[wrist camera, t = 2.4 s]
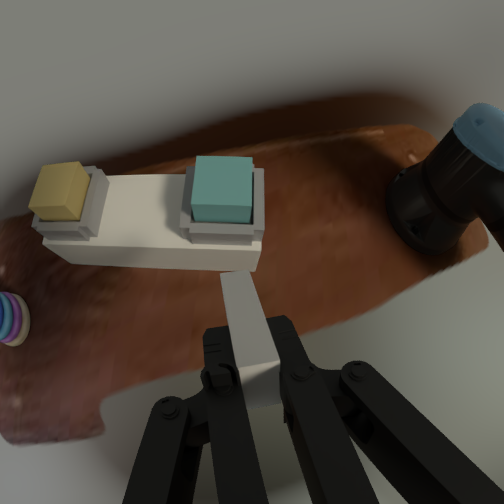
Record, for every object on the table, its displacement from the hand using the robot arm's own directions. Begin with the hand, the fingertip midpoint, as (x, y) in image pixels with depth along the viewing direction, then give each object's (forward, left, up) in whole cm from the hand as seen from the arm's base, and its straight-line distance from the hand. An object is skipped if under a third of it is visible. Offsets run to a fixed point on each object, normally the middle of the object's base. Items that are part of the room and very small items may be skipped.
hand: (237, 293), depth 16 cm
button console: (+10, -11, -21) cm, 26 cm away
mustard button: (+19, -11, -10) cm, 25 cm away
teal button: (+1, -11, -10) cm, 15 cm away
